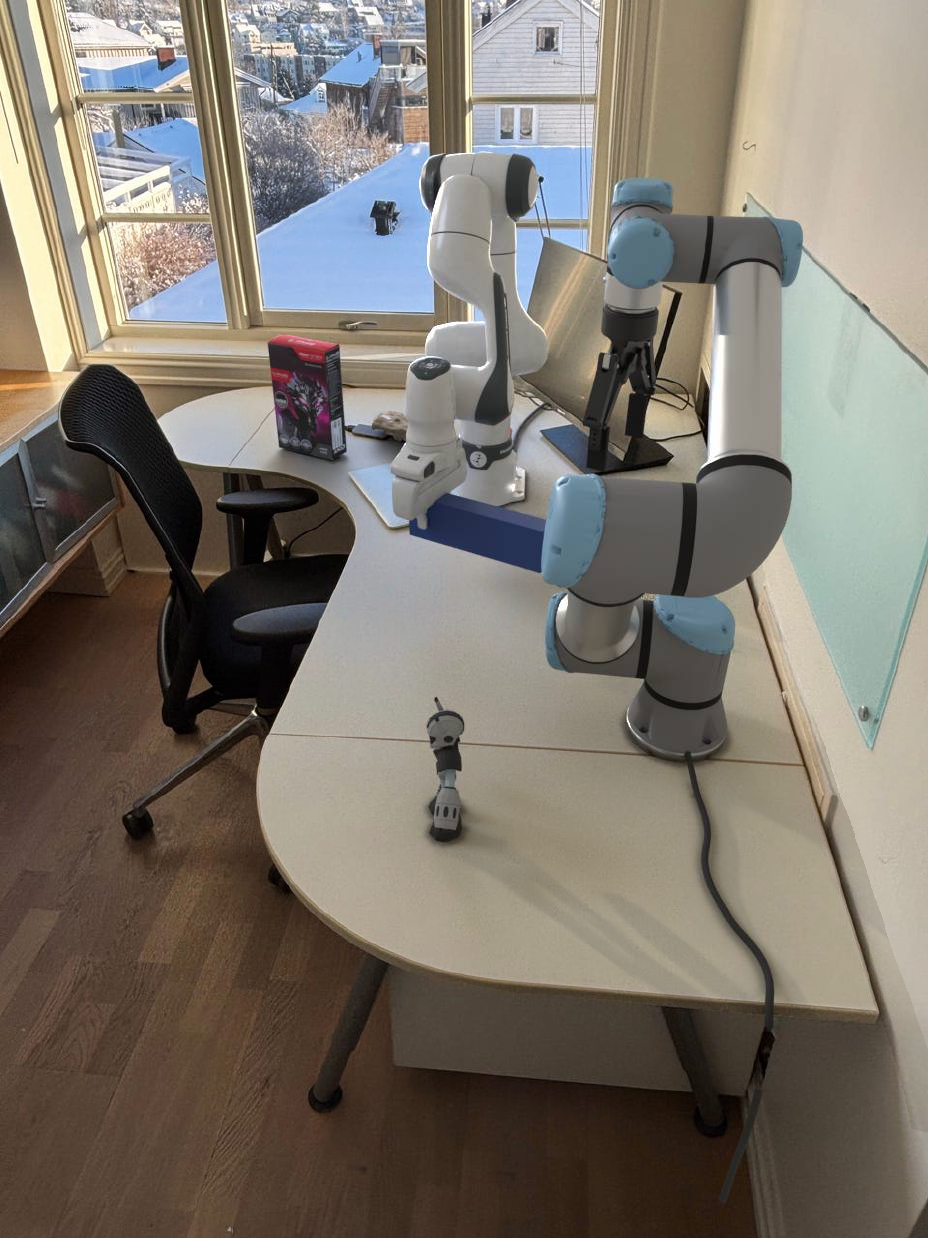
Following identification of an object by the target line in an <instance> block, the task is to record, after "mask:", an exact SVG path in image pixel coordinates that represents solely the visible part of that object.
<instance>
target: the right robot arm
mask: <svg viewBox="0 0 928 1238" xmlns="http://www.w3.org/2000/svg"><path fill="white" fill-rule="evenodd" d="M673 202H674V187H673V185H672V183H671V182H669V181H667V180H664V179H662V178H661V179H660V178H653V177H630V178H629V177H627V178H624V179H621V180H618V182H616V184H615V186H614V188H613V196H612V203H611V204H610V210H611V213H610V225H609V233H608V240H607V247H606V259H607V264H606V273H605V275H604V277H603V278H602V282H603V283H604V285H605V286H604V295H603V301H604V303H605V305H604V306H603V307H602V314H601V326H600V332H601V334H602V335H603V336H604V337H605V338H608V340H609V341H610V345H609V349H608V350H607V352H603V351H602V352H601V351H600V352H599V354H598V357H597V364H596V371H595V375H594V379H593V382H592V385H591V389H590V393H589V397H588V401H587V403H586V404H587V405H586V408H585V412H584V415H583V420H582V426H583V427H585V428H586V427H587V428H589V433H588V443H587V454H586V467H585V468H586V469H591V470H594V471H599V472H602V473H604V472H606V470H607V462H608V454H609V453H608V452H609V444H610V443H609V442H610V433H611V426H608V425H609V422H610V420H611V418H612V417H611V416H612V414H613V411H614V408H615V405H616V403H617V400H618V397H619V394H620V393H621V392H620V391H621V389H622V387H623V385H624V386H625V385H626V384H627V382H628V381H629V383H630V387H631V390H632V392H630V393H629V395H628V403H627V412H626V420H625V429H624V436H626V437H631V438H636V439H639V440H643V438H644V434H645V426H646V419H647V410H648V403H649V401H648V400H649V396H655V393H656V391H657V390H656V387H655V386H656V383H657V377H656V364H655V353H654V338H655V336H656V335H657V332H658V324H659V315H660V310H659V309H658V307H659V306H660V305H661V303H662V295H663V294H662V293H663V285H664V283H680V284H681V283H682V284H701V285H704V284H705V285H714V286H713V290H712V291H713V292H712V293H713V294H712V295H713V296H712V316H711V317H712V318H711V319H712V321H711V343H710V345H711V347H710V369H709V371H710V372H709V373H710V374H709V395H708V396H709V398H708V423H707V424H708V426H707V447H706V448H707V449H706V450H707V451H706V462H705V463H703V465H701V466H700V468H699V469H698V471H697V473H696V477H695V482H683V481H669V480H655V479H654V480H653V479H640V478H627V477H625V478H624V477H610V476H609V477H608V476H600V475H598V474H597V473H596V474H595V473H591V472H589V473H586V474H565V475H563V476H560V477H559V478H558V479H556V481H555V482H554V484H553V486H552V489H551V493H550V497H549V503H548V510H547V514H546V524H545V531H544V540H543V548H542V559H541V570H542V572H541V578H542V580H543V582H545V583H546V584H547V585H548V584H549V585H552V586H557V587H558V588H560V589H565V590H566V591H563V592H560V591H559V592H555V593H554V594H553V595H552V596H551V598H550V600H549V603H548V606H547V612H546V618H545V629H544V644H545V657H546V661H547V664H548V666H549V667H550V668H552V669H554V670H557V671H561V672H565V673H568V674H575V673H576V674H577V673H578V674H586V675H587V674H588V675H597V676H609V677H617V678H618V677H619V678H629V679H630V678H631V679H639V680H643V682H642V684H641V685H640V688H639V689H638V691H637V692H636V694H635V695H634V697H633V699H632V701H631V702H630V704H629V706H628V708H627V711H626V719H625V728H626V732H627V734H628V736H629V738H630V739H631V741H632V742H634V744H636V745H637V746H638V747H639V748H640V749H641V750H643V751H645V752H646V753H648V754H650V755H651V756H654V757H656V758H659V759H662V760H666V761H670V762H675V763H686V766H687V771H688V774H689V779H690V784H691V788H692V791H693V792H692V793H693V795H694V799H695V802H696V805H697V807H698V811H699V813H700V816H701V821H702V825H703V826H702V827H703V841H702V846H701V855H700V858H701V859H700V863H701V864H700V865H701V870H702V874H703V878H704V881H705V883H706V886H707V889H708V891H709V893H710V895H711V897H712V899H713V901H714V903H715V904H716V906H717V908H718V909H719V911H720V913H721V914H722V916H723V918H724V919H725V922H727V924H728V925H729V927H730V928H731V929H732V930H733V932H734V933H735V934H736V935H737V936H738V937H739V938H740V940H741V941H742V942H743V943H744V944H745V946H746V947H747V948H748V949H749V950H750V951H751V953H752V954H753V956H754V957H755V959H756V960H757V962H758V964H759V966H760V969H761V971H762V974H763V977H764V984H765V994H764V995H765V996H764V1027H765V1029H766V1030H769V1031H772V1030H773V1029H774V1021H775V1020H774V1016H775V1015H774V1014H775V1013H774V1010H775V982H774V977H773V973H772V971H771V968H770V966H769V963H768V960H767V959H766V957H765V955H764V953H763V952H762V951H761V949H760V947H759V946H758V945H757V944H756V942H754V940H753V939H752V938H751V937H750V936H749V934H748V933H746V931H745V930H744V929H743V928H742V926H740V924H739V923H738V922H737V921H736V919H735V918H734V916H733V915H732V913H731V911H730V910H729V908H728V907H727V905H726V903H725V901H724V900H723V898H722V897H721V894H720V893H719V891H718V889H717V887H716V885H715V883H714V880H713V877H712V874H711V869H710V864H709V863H710V862H709V861H710V859H709V856H710V849H711V842H712V827H711V821H710V817H709V814H708V811H707V808H706V805H705V802H704V800H703V796H702V794H701V791H700V787H699V782H698V778H697V773H696V769H695V766H694V762H700V761H703V760H706V759H709V758H711V757H714V755H716V754H718V752H720V751H721V750H722V748H723V747H724V744H725V743H726V740H727V739H726V738H727V734H728V721H727V716H726V712H725V708H724V707H725V706H724V701H723V692H724V686H725V682H726V678H727V672H728V668H729V663H730V659H731V654H732V651H733V649H734V646H735V632H736V620H735V617H734V614H733V612H732V610H731V609H730V608H729V607H728V605H726V603H724V602H723V601H722V600H720V599H718V597H717V596H715V595H719V594H722V593H724V592H727V591H728V590H730V589H732V588H734V587H736V586H738V585H739V584H740V583H741V582H744V581H746V579H747V578H748V577H750V576H751V575H752V574H753V573H754V572H755V571H757V570H758V569H759V568H760V567H761V565H762V564H763V563H764V562H765V561H766V560H767V559H768V557H769V555H771V553H772V551H773V549H774V548H775V546H776V545H777V543H778V541H779V540H780V538H781V535H782V534H783V531H784V529H785V527H786V524H787V521H788V519H789V515H790V510H791V506H792V500H793V474H792V470H791V468H790V466H789V465H788V464H787V462H785V461H783V460H782V440H783V439H782V437H783V435H782V432H783V431H782V430H783V429H782V427H783V425H782V419H783V418H782V415H783V414H782V409H783V408H782V406H783V405H782V402H783V401H782V398H783V397H782V395H783V392H782V390H783V389H782V385H783V383H782V382H783V381H782V377H783V376H782V375H783V374H782V373H783V371H782V370H783V369H782V368H783V367H782V364H783V361H782V359H783V357H782V356H783V355H782V353H783V351H782V350H783V348H782V345H783V343H782V342H783V340H782V339H783V337H782V336H783V329H782V328H783V326H782V325H783V324H782V323H783V321H782V319H783V311H782V310H783V301H782V300H783V288H788V287H790V286H792V285H793V284H794V282H795V281H796V280H797V279H796V278H797V276H798V274H799V269H800V267H801V261H802V256H803V255H802V254H803V244H804V230H803V227H802V225H801V224H800V222H798V221H796V220H795V219H785V218H777V217H771V216H732V215H731V216H729V215H702V214H701V215H700V214H680V213H679V214H678V213H672V212H673V210H674V205H673ZM645 594H647V595H656V597H655V598H654V600H651V599H643V598H642V597H643V596H645ZM763 1093H764V1090H763V1089H759V1088H754V1090H753V1094H752V1098H751V1102H750V1106H749V1109H748V1113H747V1117H746V1119H745V1123H744V1126H743V1129H742V1131H741V1135H740V1137H739V1140H738V1143H737V1146H736V1149H735V1151H734V1154H733V1156H732V1159H731V1162H730V1165H729V1166H728V1170H727V1173H726V1176H725V1178H724V1182H723V1185H722V1188H721V1191H720V1194H719V1196H718V1200H719V1202H720V1203H721V1204H726V1202H727V1200H728V1196H729V1193H730V1190H731V1187H732V1185H733V1182H734V1179H735V1177H736V1174H737V1171H738V1168H739V1167H740V1166H739V1165H740V1163H741V1161H742V1157H743V1155H744V1153H745V1150H746V1147H747V1145H748V1142H749V1139H750V1136H751V1134H752V1132H753V1128H754V1125H755V1122H756V1118H757V1115H758V1112H759V1108H760V1105H761V1101H762V1098H763Z"/></svg>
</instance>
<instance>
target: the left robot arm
mask: <svg viewBox="0 0 928 1238" xmlns="http://www.w3.org/2000/svg"><path fill="white" fill-rule="evenodd" d="M419 192H420V199H421V202H422V205H423V206H424V208H425V209H426V210H427V211H428V212H429V213H431V215H432V216H431V219H430V220H431V221H430V226H429V234H428V242H427V268H428V272H429V273H430V276H431V278H432V279H433V280H434V282H435V283H436V284H437V285H438V287H440V288H441V289H442V290H443V291H445V292H447V293H449V295H451V296H453V297H456V298H457V299H459V300H461V301H464V302H466V303H468V304H469V305H471V306H472V307H474V308H476V309H477V310H478V311H479V312H480V313H481V314H482V316H483V319H484V321H453V322H448V323H444V324H439V325H436V326H434V327H433V328H432V329H431V331H430V332H429V333H428V335H427V338H426V341H425V346H424V352H425V353H424V354H425V356H422V357H420V358H417V359H415V360H414V361H412V362H411V363H410V364H409V366H408V369H407V375H406V382H405V391H404V393H405V394H404V415H405V416H406V418H407V421H408V428H407V432H406V441H405V443H404V444H403V446H402V447H401V449H400V451H399V453H398V454H396V455H397V456H396V457H394V459H393V460H392V462H391V463H390V466H389V467H390V474H392V475H394V477H393V479H392V483H391V501H392V510H393V513H394V515H395V516H396V517H397V518H400V519H402V520H406V521H409V520H413V519H414V518H417V519H418V527H419V528H420V529H424V530H425V529H426V528H428V527H429V526H430V518H427V517H426V513H427V509H428V508H429V507H431V506H432V505H433V504H434V502H435V501H436V500H437V499H439V498H440V497H441V496H443V495H444V494H446V493H449V494H453V495H455V494H454V493H453V492H452V490H453V491H454V492H455V493H456V494H457V495H459V496H461V497H464V498H468V499H472V500H475V501H479V502H483V503H487V504H490V505H494V506H498V507H502V506H504V505H507V504H510V503H514V502H521V501H523V500H525V497H526V496H525V495H526V494H525V493H526V470H525V469H524V468H522V467H519V466H517V465H518V453H517V452H516V451H514V450H515V448H516V444H517V442H518V441H517V440H518V437H519V435H520V433H521V431H522V429H523V428H524V426H525V425H526V423H528V421H529V420H531V418H532V417H534V415H536V414H537V413H538V412H539V411H541V410H542V409H543V408H544V407H545V406H547V405H549V403H547V402H546V401H545V402H543V403H541V405H539V406H538V407H537V408H535V409H533V411H532V412H531V413H529V414H528V415H527V416H526V417H525V418H524V420H523V421H522V422H521V423H520V425H519V427H518V428H517V429H516V432H515V433H514V436H513V428H512V427H511V424H512V423H511V422H512V421H511V420H512V412H513V409H514V406H515V388H514V382H513V377H515V376H523V375H527V374H532V373H535V372H536V373H537V372H539V371H540V370H541V369H542V368H543V367H544V365H545V363H546V362H547V360H548V356H549V352H550V344H549V338H548V336H547V334H546V332H545V330H544V329H543V328H542V327H541V325H539V324H538V323H536V321H534V320H533V319H532V317H530V315H529V314H528V313H527V311H526V310H525V308H524V306H523V304H522V302H521V299H520V296H519V292H518V283H517V282H518V281H517V226H516V225H517V222H519V221H520V219H521V218H523V217H525V216H527V214H529V213H530V212H531V211H532V210H533V208H534V206H535V203H536V200H537V196H538V193H539V177H538V173H537V168H536V165H535V163H534V162H533V160H532V159H531V158H530V157H529V156H525V155H522V154H518V153H512V154H506V153H500V152H491V151H478V152H463V153H453V154H448V153H444V152H443V153H439V154H435V155H431V156H429V157H428V159H427V160H426V161H425V162H424V164H423V165H422V168H421V172H420V177H419ZM455 421H459V434H458V435H457V433H456V429H455Z"/></svg>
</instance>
